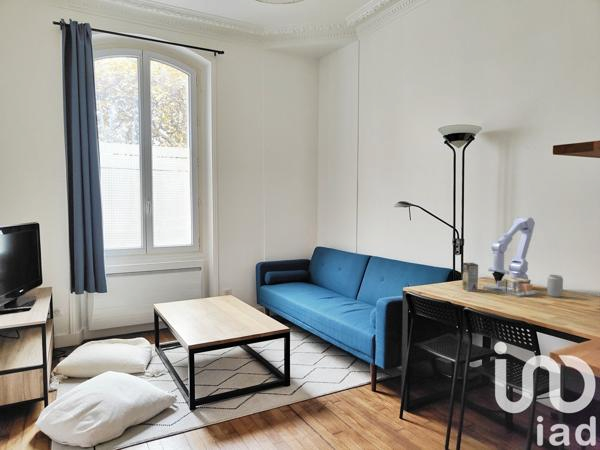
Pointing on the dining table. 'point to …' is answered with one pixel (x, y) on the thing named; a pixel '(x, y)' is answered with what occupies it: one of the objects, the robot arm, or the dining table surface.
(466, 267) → the coffee box
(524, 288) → the block
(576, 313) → the dining table surface
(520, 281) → the tunnel
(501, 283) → the sled
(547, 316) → the dining table surface
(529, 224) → the robot arm
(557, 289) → the can
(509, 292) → the track
